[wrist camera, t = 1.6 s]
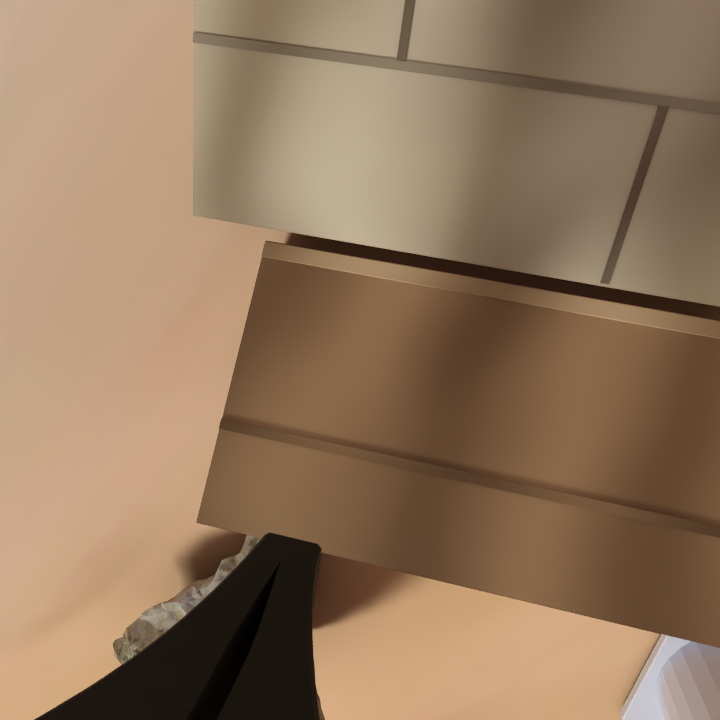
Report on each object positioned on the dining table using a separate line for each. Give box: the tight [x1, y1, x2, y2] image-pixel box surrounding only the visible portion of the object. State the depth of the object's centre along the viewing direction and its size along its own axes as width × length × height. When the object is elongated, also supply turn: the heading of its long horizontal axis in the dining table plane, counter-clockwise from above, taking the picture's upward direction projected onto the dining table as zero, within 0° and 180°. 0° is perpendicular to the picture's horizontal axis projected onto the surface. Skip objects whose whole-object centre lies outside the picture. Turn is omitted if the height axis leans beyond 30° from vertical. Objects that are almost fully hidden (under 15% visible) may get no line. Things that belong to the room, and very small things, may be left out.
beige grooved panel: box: [193, 0, 720, 307], centre depth 14 cm, size 20×10×2 cm, turn 82°
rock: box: [113, 535, 325, 720], centre depth 23 cm, size 11×6×10 cm
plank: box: [196, 241, 720, 648], centre depth 16 cm, size 15×9×2 cm
